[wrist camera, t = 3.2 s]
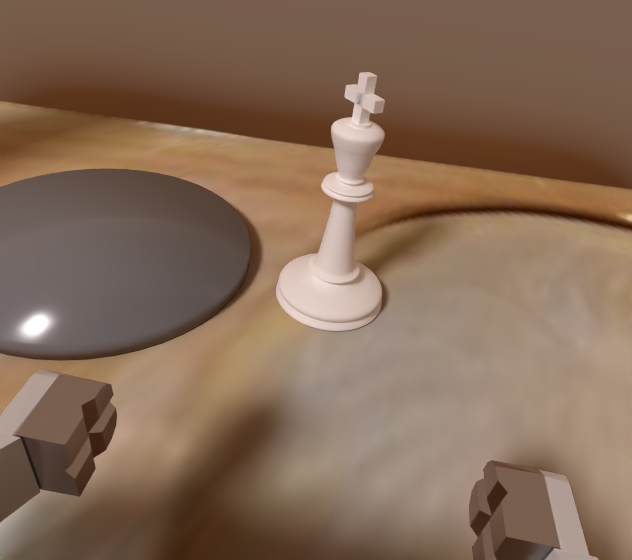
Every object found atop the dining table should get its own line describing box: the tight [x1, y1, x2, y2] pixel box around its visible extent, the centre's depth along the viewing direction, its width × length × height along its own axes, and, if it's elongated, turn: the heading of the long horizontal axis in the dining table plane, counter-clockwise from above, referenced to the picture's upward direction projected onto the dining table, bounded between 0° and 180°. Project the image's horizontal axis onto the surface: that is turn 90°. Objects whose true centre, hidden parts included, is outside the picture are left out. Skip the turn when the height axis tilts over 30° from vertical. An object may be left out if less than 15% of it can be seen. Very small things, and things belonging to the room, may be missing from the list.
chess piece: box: [276, 72, 385, 331], centre depth 21 cm, size 5×5×10 cm
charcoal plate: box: [0, 169, 250, 360], centre depth 24 cm, size 14×14×1 cm
